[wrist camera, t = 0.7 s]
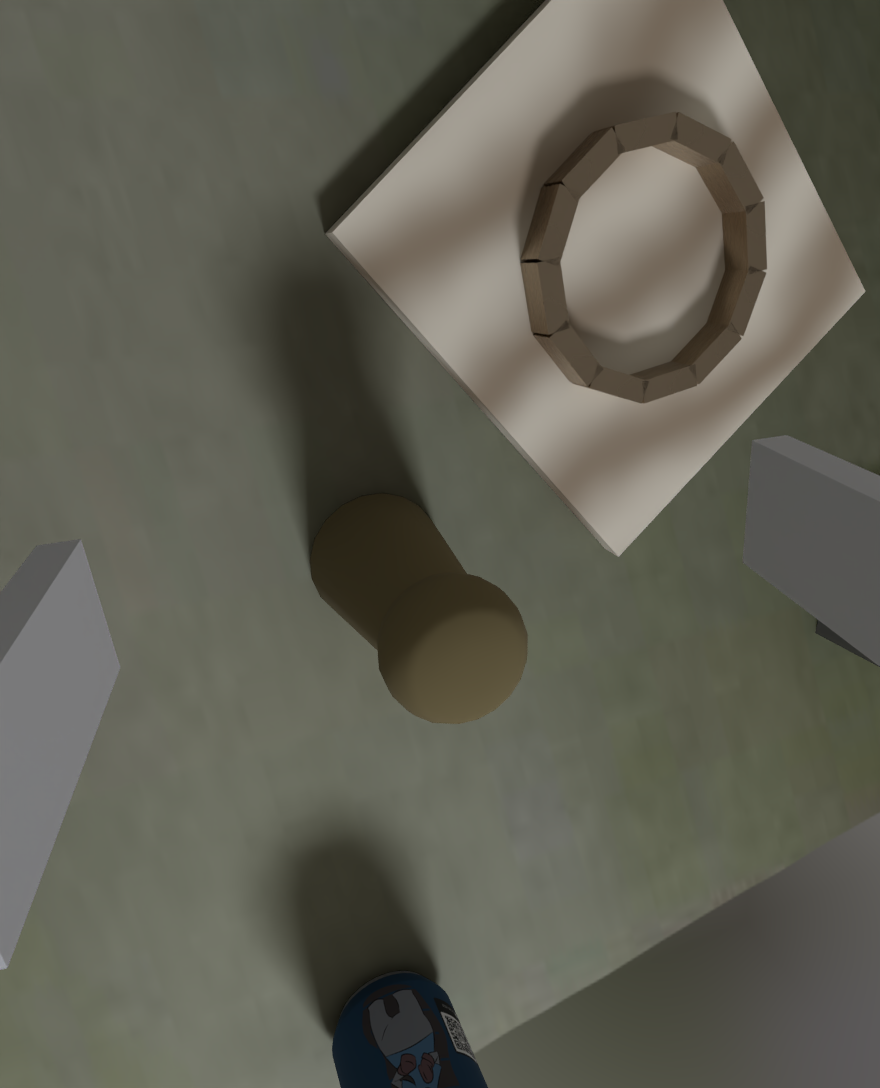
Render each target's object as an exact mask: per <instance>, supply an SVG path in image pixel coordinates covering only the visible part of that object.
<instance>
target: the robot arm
mask: <svg viewBox="0 0 880 1088" xmlns="http://www.w3.org/2000/svg"><path fill="white" fill-rule="evenodd" d="M743 563H744V564H745V565H747V566H748V567H749V568H751V569H752V570H753V571H755V572H756V573H757V574H759V575H760V576H761V577H762V578H764V579H765V580H766V581H768V582H769V583H770V584H772V585H773V586H774V587H776V588H777V589H778V590H780V591H781V592H782V593H784V594H785V595H786V596H787V597H789V598H790V599H791V600H793V601H794V602H795V603H797V604H798V605H799V606H801V607H802V608H803V609H805V610H806V611H807V612H809V613H810V614H811V615H812V616H814V617H815V618H816V619H818V620H819V621H820V622H822V623H823V624H824V625H826V626H827V627H828V628H830V629H831V630H832V631H834V632H835V633H836V634H837V635H839V636H840V637H841V638H843V639H844V640H845V641H847V642H848V643H849V644H851V645H852V646H853V647H855V648H856V649H857V650H859V651H860V652H861V653H862V654H864V655H865V656H866V657H868V658H869V659H870V660H872V661H873V662H874V663H876V664H877V665H878V666H880V476H879V475H877V474H874V473H872V472H870V471H868V470H865V469H863V468H861V467H858V466H856V465H854V464H852V463H849V462H847V461H845V460H842V459H840V458H838V457H836V456H833V455H831V454H829V453H826V452H824V451H822V450H820V449H817V448H815V447H813V446H810V445H808V444H806V443H804V442H801V441H799V440H797V439H794V438H792V437H790V436H788V435H785V436H778V437H772V438H765V439H758V440H752V449H751V462H750V475H749V487H748V500H747V513H746V526H745V538H744V551H743ZM119 670H120V665H119V661H118V658H117V655H116V652H115V648H114V645H113V642H112V639H111V635H110V632H109V629H108V626H107V622H106V619H105V616H104V613H103V609H102V606H101V603H100V600H99V596H98V593H97V590H96V587H95V583H94V580H93V577H92V574H91V570H90V567H89V564H88V561H87V557H86V554H85V551H84V548H83V544H82V541H81V539H78V540H72V541H65V542H58V543H51V544H44V545H38V546H36V547H35V548H34V550H33V551H32V552H31V554H30V555H29V556H28V558H27V559H26V560H25V561H24V563H23V564H22V565H21V567H20V568H19V569H18V571H17V572H16V573H15V574H14V576H13V577H12V578H11V580H10V581H9V582H8V583H7V585H6V586H5V587H4V589H3V590H2V591H1V593H0V970H1V969H5V968H8V965H9V962H10V960H11V957H12V954H13V952H14V949H15V946H16V944H17V941H18V938H19V936H20V933H21V930H22V928H23V925H24V922H25V920H26V917H27V914H28V912H29V909H30V906H31V904H32V901H33V898H34V896H35V893H36V890H37V888H38V885H39V883H40V880H41V877H42V875H43V872H44V869H45V867H46V864H47V861H48V859H49V856H50V853H51V851H52V848H53V845H54V843H55V840H56V837H57V835H58V832H59V829H60V827H61V824H62V821H63V819H64V816H65V813H66V811H67V808H68V805H69V803H70V800H71V797H72V795H73V792H74V789H75V787H76V784H77V781H78V779H79V776H80V773H81V771H82V768H83V765H84V763H85V760H86V757H87V755H88V752H89V749H90V747H91V744H92V741H93V739H94V736H95V734H96V731H97V728H98V726H99V723H100V720H101V718H102V715H103V712H104V710H105V707H106V704H107V702H108V699H109V696H110V694H111V691H112V688H113V686H114V683H115V680H116V678H117V675H118V672H119Z"/></svg>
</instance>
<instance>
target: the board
mask: <svg viewBox="0 0 880 1088" xmlns="http://www.w3.org/2000/svg"><path fill="white" fill-rule="evenodd" d="M671 112H676V113H677V112H680V113H682V114H684V115H686V116H688V117H690V118H692V119H694V120H696V121H698V122H700V123H702V124H703V125H705V126H707V127H709V128H711V129H713V130H715V131H717V132H719V133H721V134H723V135H725V136H727V137H729V138H731V139H732V140H731V142H733V141H734V143H735V144H736V146H737V148H738V150H739V152H740V154H741V156H742V158H743V160H744V161H745V163H746V165H747V167H748V169H749V171H750V173H751V175H752V176H753V178H754V180H755V182H756V184H757V186H758V188H759V190H760V191H761V193H762V195H763V197H764V198H763V199H762V200H761V201H765V224H766V251H767V269H766V270H763V271H764V272H766V276H765V278H764V281H763V284H762V287H761V289H760V292H759V295H758V298H757V300H756V303H755V306H754V309H753V311H752V314H751V317H750V320H749V322H748V325H747V328H746V331H745V333H744V336H740V337H741V338H742V339H741V340H740V341H739V342H738V344H737V345H736V346H735V347H734V348H733V349H732V350H731V351H730V352H729V353H728V354H727V355H726V356H725V357H724V359H723V360H722V361H721V362H720V363H719V364H718V365H717V366H716V367H715V368H714V369H713V370H712V371H711V372H710V374H709V375H708V376H707V377H706V378H705V379H704V380H703V381H702V382H701V383H700V384H697V386H695V387H692V388H689V389H686V390H683V391H680V392H677V393H674V394H671V395H668V396H666V397H663V398H660V399H657V400H654V401H651V402H648V403H645V404H644V403H642V404H641V403H637V402H633V401H630V400H626V399H622V398H619V397H615V396H612V395H609V394H605V393H602V392H599V391H595V390H592V389H589V388H585V387H582V386H579V385H575V384H572V382H569V381H568V379H567V378H566V377H565V375H564V374H563V373H562V372H561V370H560V369H559V368H558V367H557V365H556V364H555V363H554V362H553V360H552V359H551V358H550V356H549V355H548V354H547V353H546V351H545V350H544V349H543V348H542V346H541V345H540V344H539V343H538V341H537V340H536V339H535V337H534V336H533V334H534V332H531V327H530V321H529V315H528V309H527V303H526V296H525V290H524V284H523V278H522V272H521V266H520V263H522V262H526V261H524V260H521V255H522V252H523V248H524V245H525V241H526V238H527V235H528V231H529V228H530V224H531V221H532V217H533V214H534V210H535V207H536V204H537V200H538V197H539V193H540V190H541V187H545V186H544V185H543V184H544V183H545V182H546V180H547V179H548V178H549V177H550V176H551V175H552V174H553V173H554V172H555V171H556V170H557V169H558V168H559V167H560V166H561V165H562V163H563V162H564V161H565V160H566V159H567V158H568V157H569V156H570V155H571V154H572V153H573V152H574V151H575V150H576V149H577V148H578V146H579V145H580V144H581V143H582V142H583V141H584V140H585V139H586V138H587V137H588V136H589V135H590V134H591V133H593V132H594V131H597V130H601V129H604V128H608V127H611V126H614V125H619V124H623V123H627V122H632V121H636V120H641V119H645V118H649V117H654V116H658V115H663V114H667V113H671ZM761 201H760V202H761ZM325 234H326V236H327V237H328V238H329V239H330V240H331V241H332V242H333V243H334V245H335V246H336V247H337V248H338V249H339V250H340V251H341V252H342V254H343V255H344V256H345V257H346V258H347V259H348V260H349V261H350V263H351V264H352V265H353V266H354V267H355V268H356V269H357V270H358V271H359V273H360V274H361V275H362V276H363V277H364V278H365V279H366V280H367V282H368V283H369V284H370V285H371V286H372V287H373V288H374V289H375V291H376V292H377V293H378V294H379V295H380V296H381V297H382V298H383V300H384V301H385V302H386V303H387V304H388V305H389V306H390V307H391V309H392V310H393V311H394V312H395V313H396V314H397V315H398V316H399V318H400V319H401V320H402V321H403V322H404V323H405V324H406V325H407V327H408V328H409V329H410V330H411V331H412V332H413V333H414V334H415V336H416V337H417V338H418V339H419V340H420V341H421V342H422V343H423V345H424V346H425V347H426V348H427V349H428V350H429V351H430V352H431V354H432V355H433V356H434V357H435V358H436V359H437V360H438V361H439V363H440V364H441V365H442V366H443V367H444V368H445V369H446V370H447V372H448V373H449V374H450V375H451V376H452V377H453V378H454V379H455V381H456V382H457V383H458V384H459V385H460V386H461V387H462V388H463V390H464V391H465V392H466V393H467V394H468V395H469V396H470V397H471V399H472V400H473V401H474V402H475V403H476V404H477V405H478V406H479V408H480V409H481V410H482V411H483V412H484V413H485V414H486V415H487V417H488V418H489V419H490V420H491V421H492V422H493V423H494V424H495V426H496V427H497V428H498V429H499V430H500V431H501V432H502V433H503V435H504V436H505V437H506V438H507V439H508V440H509V441H510V442H511V444H512V445H513V446H514V447H515V448H516V449H517V450H518V451H519V453H520V454H521V455H522V456H523V457H524V458H525V459H526V460H527V461H528V463H529V464H530V465H531V466H532V467H533V468H534V469H535V470H536V472H537V473H538V474H539V475H540V476H541V477H542V478H543V479H544V481H545V482H546V483H547V484H548V485H549V486H550V487H551V488H552V490H553V491H554V492H555V493H556V494H557V495H558V496H559V497H560V499H561V500H562V501H563V502H564V503H565V504H566V505H567V506H568V508H569V509H570V510H571V511H572V512H573V513H574V514H575V515H576V517H577V518H578V519H579V520H580V521H581V522H582V523H583V524H584V526H585V527H586V528H587V529H588V530H589V531H590V532H591V533H592V535H593V536H594V537H595V538H596V539H597V540H598V541H599V542H600V544H601V545H602V546H603V547H604V548H605V549H606V550H608V551H610V552H611V553H613V554H615V555H616V556H618V557H619V556H620V555H621V553H622V552H623V551H624V550H625V549H626V548H627V547H628V546H629V545H630V544H631V543H632V542H633V541H634V540H635V538H636V537H637V536H638V535H639V534H640V533H641V532H642V531H643V530H644V529H645V528H646V527H647V526H648V524H649V523H650V522H651V521H652V520H653V519H654V518H655V517H656V516H657V515H658V514H659V513H660V512H661V511H662V509H663V508H664V507H665V506H666V505H667V504H668V503H669V502H670V501H671V500H672V499H673V498H674V497H675V495H676V494H677V493H678V492H679V491H680V490H681V489H682V488H683V487H684V486H685V485H686V484H687V483H688V481H689V480H690V479H691V478H692V477H693V476H694V475H695V474H696V473H697V472H698V471H699V470H700V469H701V468H702V466H703V465H704V464H705V463H706V462H707V461H708V460H709V459H710V458H711V457H712V456H713V455H714V454H715V452H716V451H717V450H718V449H719V448H720V447H721V446H722V445H723V444H724V443H725V442H726V441H727V440H728V438H729V437H730V436H731V435H732V434H733V433H734V432H735V431H736V430H737V429H738V428H739V427H740V426H741V425H742V423H743V422H744V421H745V420H746V419H747V418H748V417H749V416H750V415H751V414H752V413H753V412H754V411H755V409H756V408H757V407H758V406H759V405H760V404H761V403H762V402H763V401H764V400H765V399H766V398H767V397H768V396H769V394H770V393H771V392H772V391H773V390H774V389H775V388H776V387H777V386H778V385H779V384H780V383H781V382H782V380H783V379H784V378H785V377H786V376H787V375H788V374H789V373H790V372H791V371H792V370H793V369H794V368H795V366H796V365H797V364H798V363H799V362H800V361H801V360H802V359H803V358H804V357H805V356H806V355H807V354H808V353H809V351H810V350H811V349H812V348H813V347H814V346H815V345H816V344H817V343H818V342H819V341H820V340H821V339H822V337H823V336H824V335H825V334H826V333H827V332H828V331H829V330H830V329H831V328H832V327H833V326H834V325H835V324H836V322H837V321H838V320H839V319H840V318H841V317H842V316H843V315H844V314H845V313H846V312H847V311H848V310H849V308H850V307H851V306H852V305H853V304H854V303H855V302H856V301H857V300H858V299H859V298H860V297H861V296H862V294H863V293H864V292H865V290H864V288H863V286H862V283H861V281H860V279H859V277H858V275H857V273H856V271H855V269H854V267H853V265H852V263H851V261H850V259H849V257H848V255H847V253H846V251H845V249H844V247H843V245H842V243H841V241H840V239H839V237H838V234H837V232H836V230H835V228H834V226H833V224H832V222H831V220H830V218H829V216H828V214H827V212H826V210H825V208H824V206H823V204H822V202H821V200H820V198H819V196H818V194H817V192H816V190H815V187H814V185H813V183H812V181H811V179H810V177H809V175H808V173H807V171H806V169H805V167H804V165H803V163H802V161H801V159H800V157H799V155H798V153H797V151H796V149H795V147H794V145H793V143H792V141H791V138H790V136H789V134H788V132H787V130H786V128H785V126H784V124H783V122H782V120H781V118H780V116H779V114H778V112H777V110H776V108H775V106H774V104H773V102H772V100H771V98H770V96H769V94H768V92H767V89H766V87H765V85H764V83H763V81H762V79H761V77H760V75H759V73H758V71H757V69H756V67H755V65H754V63H753V61H752V59H751V57H750V55H749V53H748V51H747V49H746V47H745V45H744V42H743V40H742V38H741V36H740V34H739V32H738V30H737V28H736V26H735V24H734V22H733V20H732V18H731V16H730V14H729V12H728V10H727V8H726V6H725V4H724V2H723V0H545V1H544V2H543V3H542V4H541V5H540V6H539V8H538V9H537V10H536V11H535V12H534V13H533V14H532V15H531V16H530V17H529V18H528V19H527V20H526V21H525V22H524V23H523V24H522V26H521V27H520V28H519V29H518V30H517V31H516V32H515V33H514V34H513V35H512V36H511V37H510V38H509V39H508V40H507V41H506V42H505V44H504V45H503V46H502V47H501V48H500V49H499V50H498V51H497V52H496V53H495V54H494V55H493V56H492V57H491V58H490V59H489V60H488V62H487V63H486V64H485V65H484V66H483V67H482V68H481V69H480V70H479V71H478V72H477V73H476V74H475V75H474V76H473V77H472V79H471V80H470V81H469V82H468V83H467V84H466V85H465V86H464V87H463V88H462V89H461V90H460V91H459V92H458V93H457V94H456V95H455V97H454V98H453V99H452V100H451V101H450V102H449V103H448V104H447V105H446V106H445V107H444V108H443V109H442V110H441V111H440V112H439V113H438V115H437V116H436V117H435V118H434V119H433V120H432V121H431V122H430V123H429V124H428V125H427V126H426V127H425V128H424V129H423V130H422V131H421V133H420V134H419V135H418V136H417V137H416V138H415V139H414V140H413V141H412V142H411V143H410V144H409V145H408V146H407V147H406V148H405V149H404V151H403V152H402V153H401V154H400V155H399V156H398V157H397V158H396V159H395V160H394V161H393V162H392V163H391V164H390V165H389V166H388V167H387V169H386V170H385V171H384V172H383V173H382V174H381V175H380V176H379V177H378V178H377V179H376V180H375V181H374V182H373V183H372V184H371V185H370V187H369V188H368V189H367V190H366V191H365V192H364V193H363V194H362V195H361V196H360V197H359V198H358V199H357V200H356V201H355V202H354V204H353V205H352V206H351V207H350V208H349V209H348V210H347V211H346V212H345V213H344V214H343V215H342V216H341V217H340V218H339V219H338V220H337V222H336V223H335V224H334V225H333V226H332V227H331V228H330V229H329V230H328V231H327V232H326V233H325ZM561 269H562V276H563V283H564V291H565V298H566V305H567V312H568V319H569V324H570V325H571V327H572V328H573V329H574V331H575V332H576V333H577V335H578V336H579V337H580V339H581V340H582V341H583V343H584V344H585V345H586V347H587V348H588V349H589V351H590V352H591V353H592V355H593V356H594V357H595V359H596V360H597V361H598V363H599V364H600V365H601V366H603V367H606V368H609V369H612V370H615V371H618V372H622V373H625V374H628V375H630V374H634V373H637V372H640V371H643V370H646V369H649V368H652V367H655V366H658V365H661V364H664V363H667V362H671V361H672V360H673V358H674V357H675V356H676V355H677V354H678V353H679V352H680V351H681V350H682V349H683V348H684V347H685V346H686V345H687V343H688V342H689V341H690V340H691V339H692V338H693V337H694V336H695V335H696V334H697V333H698V332H699V331H700V330H701V328H702V327H703V326H704V325H705V324H706V323H707V320H708V317H709V314H710V311H711V309H712V306H713V303H714V300H715V297H716V294H717V291H718V289H719V286H720V283H721V280H722V277H723V274H724V272H725V261H724V244H723V227H722V213H721V211H720V209H719V208H718V206H717V204H716V202H715V201H714V199H713V197H712V195H711V194H710V192H709V190H708V188H707V187H706V185H705V183H704V181H703V180H702V178H701V176H700V174H699V173H698V171H697V169H696V167H694V166H692V165H689V164H687V163H685V162H683V161H681V160H679V159H677V158H675V157H673V156H671V155H669V154H667V153H665V152H663V151H661V150H658V149H656V148H654V147H652V146H650V147H646V148H641V149H637V150H633V151H629V152H625V153H622V154H621V155H620V156H619V157H618V158H617V159H616V160H615V161H614V162H613V163H612V164H611V165H610V167H609V168H608V169H607V170H606V171H605V172H604V173H603V174H602V175H601V176H600V177H599V178H598V179H597V180H596V181H595V183H594V184H593V185H592V186H591V187H590V188H589V189H588V190H587V191H586V192H585V193H584V194H583V195H582V196H581V197H580V199H579V202H578V205H577V209H576V212H575V215H574V219H573V222H572V225H571V229H570V232H569V235H568V239H567V242H566V245H565V248H564V252H563V255H562V258H561Z"/></svg>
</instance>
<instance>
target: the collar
mask: <svg viewBox="0 0 880 1088" xmlns="http://www.w3.org/2000/svg"><path fill="white" fill-rule="evenodd" d="M731 140H732V139H731V138H729V137H727V136H725V135H723V134H721V133H719V132H717V131H715V130H713V129H711V128H709V127H707V126H705V125H703V124H702V123H700V122H698V121H696V120H694V119H692V118H690V117H688V116H686V115H684V114H682V113H680V112H677V113H676V112H671V113H667V114H663V115H658V116H654V117H649V118H645V119H641V120H636V121H632V122H627V123H623V124H619V125H614V126H611V127H608V128H604V129H601V130H597V131H594V132H593V133H591V134H590V135H589V136H588V137H587V138H586V139H585V140H584V141H583V142H582V143H581V144H580V145H579V146H578V148H577V149H576V150H575V151H574V152H573V153H572V154H571V155H570V156H569V157H568V158H567V159H566V160H565V161H564V162H563V163H562V165H561V166H560V167H559V168H558V169H557V170H556V171H555V172H554V173H553V174H552V175H551V176H550V177H549V178H548V179H547V180H546V182H545V183H544V184H543V185H544V186H545V187H541V190H540V193H539V197H538V200H537V204H536V207H535V210H534V214H533V217H532V221H531V224H530V228H529V231H528V235H527V238H526V241H525V245H524V248H523V252H522V255H521V260H524V261H526V262H522V263H520V266H521V272H522V278H523V284H524V290H525V296H526V303H527V309H528V315H529V321H530V327H531V332H534V334H533V336H534V337H535V339H536V340H537V341H538V343H539V344H540V345H541V346H542V348H543V349H544V350H545V351H546V353H547V354H548V355H549V356H550V358H551V359H552V360H553V362H554V363H555V364H556V365H557V367H558V368H559V369H560V370H561V372H562V373H563V374H564V375H565V377H566V378H567V379H568V381H569V382H572V384H575V385H579V386H582V387H585V388H589V389H592V390H595V391H599V392H602V393H605V394H609V395H612V396H615V397H619V398H622V399H626V400H630V401H633V402H637V403H641V404H642V403H644V404H645V403H648V402H651V401H654V400H657V399H660V398H663V397H666V396H668V395H671V394H674V393H677V392H680V391H683V390H686V389H689V388H692V387H695V386H697V384H700V383H701V382H702V381H703V380H704V379H705V378H706V377H707V376H708V375H709V374H710V372H711V371H712V370H713V369H714V368H715V367H716V366H717V365H718V364H719V363H720V362H721V361H722V360H723V359H724V357H725V356H726V355H727V354H728V353H729V352H730V351H731V350H732V349H733V348H734V347H735V346H736V345H737V344H738V342H739V341H740V340H741V339H742V338H741V337H740V336H744V333H745V331H746V328H747V325H748V322H749V320H750V317H751V314H752V311H753V309H754V306H755V303H756V300H757V298H758V295H759V292H760V289H761V287H762V284H763V281H764V278H765V276H766V272H764V271H763V270H766V269H767V251H766V224H765V201H761V200H762V199H763V198H764V197H763V195H762V193H761V191H760V190H759V188H758V186H757V184H756V182H755V180H754V178H753V176H752V175H751V173H750V171H749V169H748V167H747V165H746V163H745V161H744V160H743V158H742V156H741V154H740V152H739V150H738V148H737V146H736V144H735V143H734V141H733V142H731ZM650 146H652V147H654V148H656V149H658V150H661V151H663V152H665V153H667V154H669V155H671V156H673V157H675V158H677V159H679V160H681V161H683V162H685V163H687V164H689V165H692V166H694V167H696V169H697V171H698V173H699V174H700V176H701V178H702V180H703V181H704V183H705V185H706V187H707V188H708V190H709V192H710V194H711V195H712V197H713V199H714V201H715V202H716V204H717V206H718V208H719V209H720V211H721V213H722V227H723V244H724V261H725V272H724V274H723V277H722V280H721V283H720V286H719V289H718V291H717V294H716V297H715V300H714V303H713V306H712V309H711V311H710V314H709V317H708V320H707V323H706V324H705V325H704V326H703V327H702V328H701V330H700V331H699V332H698V333H697V334H696V335H695V336H694V337H693V338H692V339H691V340H690V341H689V342H688V343H687V345H686V346H685V347H684V348H683V349H682V350H681V351H680V352H679V353H678V354H677V355H676V356H675V357H674V358H673V360H672V361H671V362H667V363H664V364H661V365H658V366H655V367H652V368H649V369H646V370H643V371H640V372H637V373H634V374H630V375H628V374H625V373H622V372H618V371H615V370H612V369H609V368H606V367H603V366H601V365H600V364H599V363H598V361H597V360H596V359H595V357H594V356H593V355H592V353H591V352H590V351H589V349H588V348H587V347H586V345H585V344H584V343H583V341H582V340H581V339H580V337H579V336H578V335H577V333H576V332H575V331H574V329H573V328H572V327H571V325H570V324H569V319H568V312H567V305H566V298H565V291H564V283H563V276H562V269H561V258H562V255H563V252H564V248H565V245H566V242H567V239H568V235H569V232H570V229H571V225H572V222H573V219H574V215H575V212H576V209H577V205H578V202H579V199H580V197H581V196H582V195H583V194H584V193H585V192H586V191H587V190H588V189H589V188H590V187H591V186H592V185H593V184H594V183H595V181H596V180H597V179H598V178H599V177H600V176H601V175H602V174H603V173H604V172H605V171H606V170H607V169H608V168H609V167H610V165H611V164H612V163H613V162H614V161H615V160H616V159H617V158H618V157H619V156H620V155H621V154H622V153H625V152H629V151H633V150H637V149H641V148H646V147H650ZM760 201H761V202H760Z"/></svg>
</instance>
